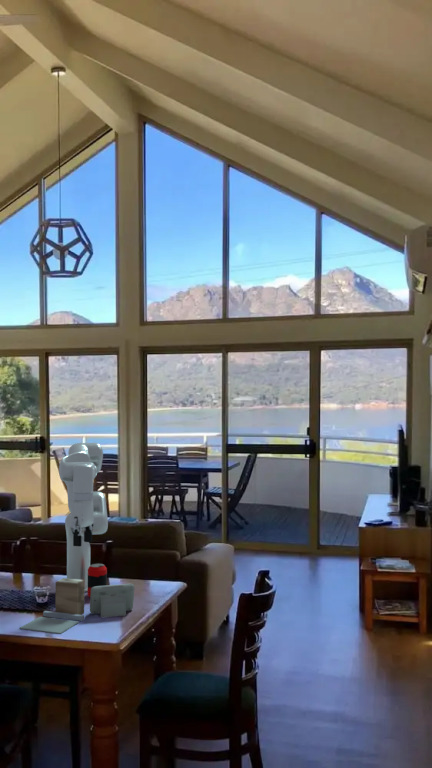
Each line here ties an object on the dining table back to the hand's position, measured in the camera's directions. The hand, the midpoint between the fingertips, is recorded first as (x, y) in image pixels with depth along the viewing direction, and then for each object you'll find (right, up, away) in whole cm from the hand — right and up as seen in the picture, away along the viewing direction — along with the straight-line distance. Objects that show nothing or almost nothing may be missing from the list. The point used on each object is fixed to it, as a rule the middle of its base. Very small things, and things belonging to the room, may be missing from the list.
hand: (82, 543), depth 246 cm
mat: (-7, -23, -22) cm, 32 cm away
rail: (-4, -23, -13) cm, 27 cm away
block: (-3, -24, -9) cm, 26 cm away
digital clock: (+12, -24, -8) cm, 28 cm away
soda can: (+3, -24, +14) cm, 28 cm away
